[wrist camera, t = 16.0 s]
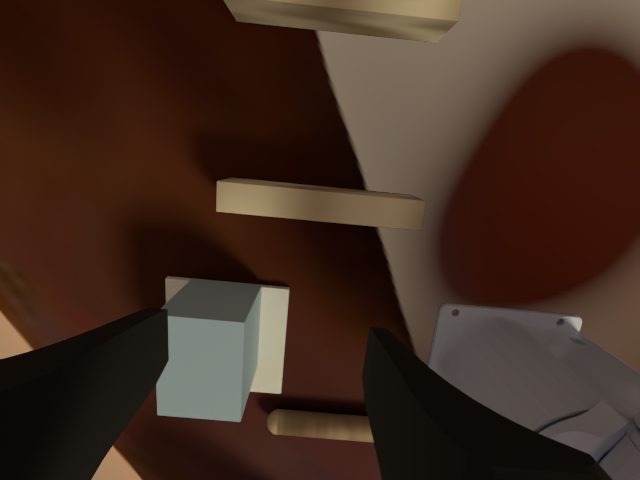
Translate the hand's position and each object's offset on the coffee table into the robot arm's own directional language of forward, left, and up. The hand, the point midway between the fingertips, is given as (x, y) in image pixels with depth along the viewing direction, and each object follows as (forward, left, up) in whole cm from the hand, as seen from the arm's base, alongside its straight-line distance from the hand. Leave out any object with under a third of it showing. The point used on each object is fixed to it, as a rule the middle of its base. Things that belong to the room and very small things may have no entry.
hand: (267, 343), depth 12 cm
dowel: (-5, +12, -10) cm, 16 cm away
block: (+4, +5, -10) cm, 11 cm away
